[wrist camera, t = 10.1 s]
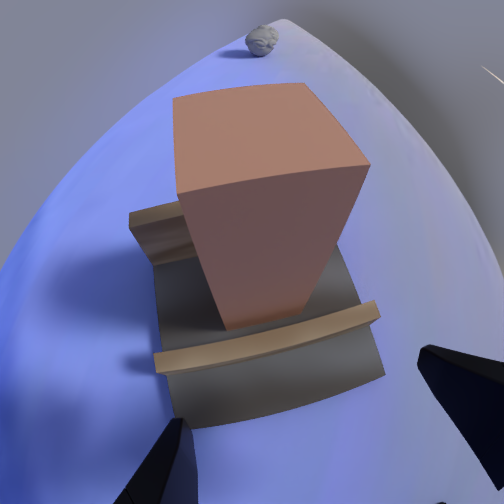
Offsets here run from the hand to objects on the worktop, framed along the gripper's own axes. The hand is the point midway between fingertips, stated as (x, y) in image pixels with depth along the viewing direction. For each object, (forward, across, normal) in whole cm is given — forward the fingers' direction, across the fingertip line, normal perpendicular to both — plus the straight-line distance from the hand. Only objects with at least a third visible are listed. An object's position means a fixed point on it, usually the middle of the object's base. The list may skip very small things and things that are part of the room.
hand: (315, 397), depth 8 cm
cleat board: (+10, 0, +2) cm, 11 cm away
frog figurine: (+45, -12, -32) cm, 57 cm away
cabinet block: (+11, 0, 0) cm, 11 cm away
